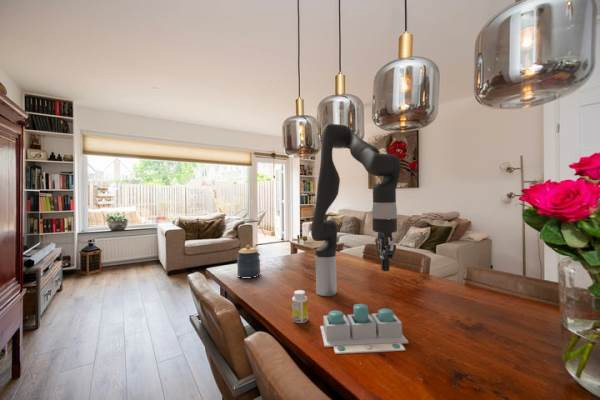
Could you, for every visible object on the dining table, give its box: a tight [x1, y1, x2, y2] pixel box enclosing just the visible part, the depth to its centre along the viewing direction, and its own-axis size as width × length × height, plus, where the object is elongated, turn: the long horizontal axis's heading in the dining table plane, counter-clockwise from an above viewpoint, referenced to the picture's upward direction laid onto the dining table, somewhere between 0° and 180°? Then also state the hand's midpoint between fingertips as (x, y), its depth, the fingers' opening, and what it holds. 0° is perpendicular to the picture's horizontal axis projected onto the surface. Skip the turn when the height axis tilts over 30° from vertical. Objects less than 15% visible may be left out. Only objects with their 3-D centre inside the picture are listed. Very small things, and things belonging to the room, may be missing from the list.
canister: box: [236, 244, 261, 277], centre depth 154 cm, size 13×13×18 cm
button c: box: [377, 308, 395, 322], centre depth 86 cm, size 5×5×6 cm
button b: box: [353, 303, 369, 323], centre depth 86 cm, size 5×5×6 cm
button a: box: [328, 310, 344, 325], centre depth 86 cm, size 5×5×6 cm
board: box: [319, 312, 409, 348], centre depth 86 cm, size 12×25×5 cm, turn 92°
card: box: [332, 343, 406, 355], centre depth 78 cm, size 3×20×1 cm, turn 92°
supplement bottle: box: [291, 289, 309, 324], centre depth 97 cm, size 6×6×10 cm
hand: (385, 270), depth 87 cm, fingers closed
